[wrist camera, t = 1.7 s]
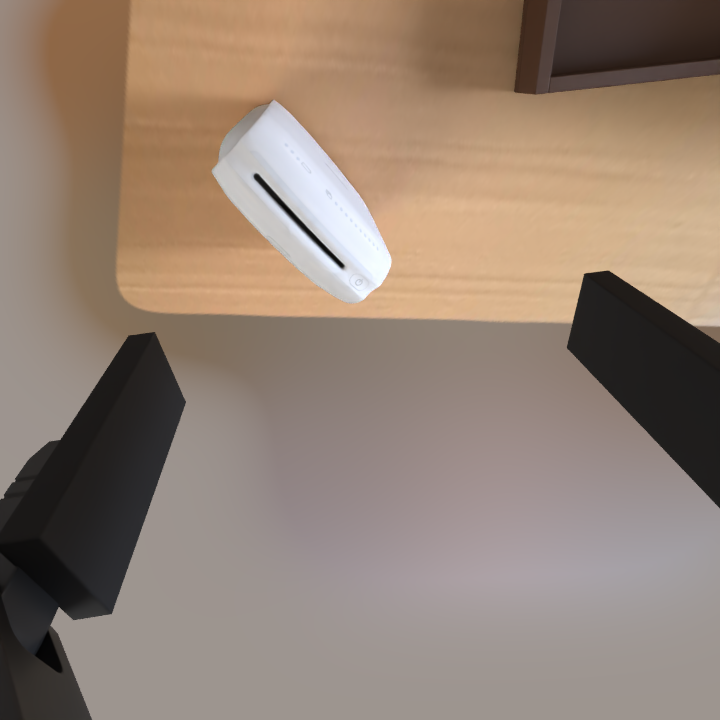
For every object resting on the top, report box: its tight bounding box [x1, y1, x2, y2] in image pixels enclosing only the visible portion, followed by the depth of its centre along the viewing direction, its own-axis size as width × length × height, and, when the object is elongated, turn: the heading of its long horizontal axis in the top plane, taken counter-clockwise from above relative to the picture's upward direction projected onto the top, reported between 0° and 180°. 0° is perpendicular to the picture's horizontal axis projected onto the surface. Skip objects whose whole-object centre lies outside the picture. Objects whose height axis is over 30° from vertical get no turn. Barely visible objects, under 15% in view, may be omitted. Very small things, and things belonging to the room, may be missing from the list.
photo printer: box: [212, 100, 391, 303], centre depth 24 cm, size 10×4×12 cm, turn 41°
